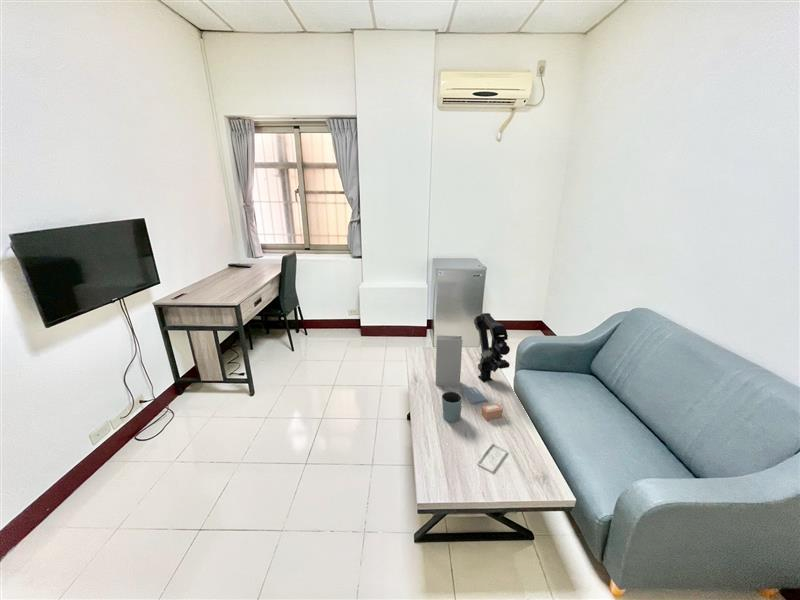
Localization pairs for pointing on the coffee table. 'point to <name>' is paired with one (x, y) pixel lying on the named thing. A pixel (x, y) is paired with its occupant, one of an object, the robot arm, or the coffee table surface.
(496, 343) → the robot arm
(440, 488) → the coffee table surface
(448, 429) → the coffee table surface
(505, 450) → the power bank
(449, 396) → the blue-grey cup
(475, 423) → the coffee table surface
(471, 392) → the blue book
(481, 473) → the coffee table surface
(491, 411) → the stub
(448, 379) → the tall grey box
